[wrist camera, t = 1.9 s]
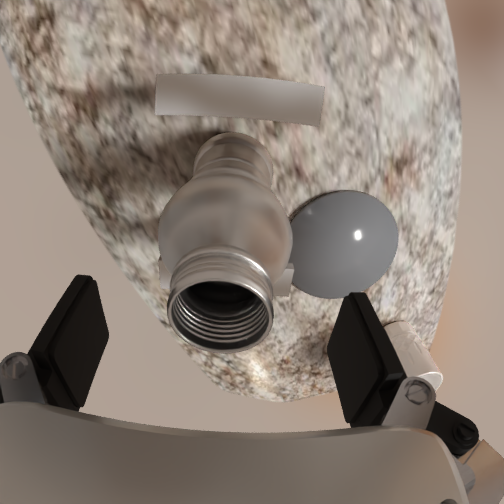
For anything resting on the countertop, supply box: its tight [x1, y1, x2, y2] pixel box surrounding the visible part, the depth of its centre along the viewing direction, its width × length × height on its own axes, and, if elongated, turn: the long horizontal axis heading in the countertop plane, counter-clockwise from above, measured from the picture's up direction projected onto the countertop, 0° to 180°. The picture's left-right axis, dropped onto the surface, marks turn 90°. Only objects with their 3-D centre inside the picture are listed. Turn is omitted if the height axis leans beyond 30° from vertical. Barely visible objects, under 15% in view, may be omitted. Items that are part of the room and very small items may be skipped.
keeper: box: [155, 74, 325, 297], centre depth 24 cm, size 16×10×9 cm, turn 175°
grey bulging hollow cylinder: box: [158, 132, 293, 353], centre depth 19 cm, size 6×7×20 cm
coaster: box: [288, 190, 398, 299], centre depth 32 cm, size 13×13×1 cm
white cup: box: [384, 321, 443, 391], centre depth 36 cm, size 8×8×10 cm
